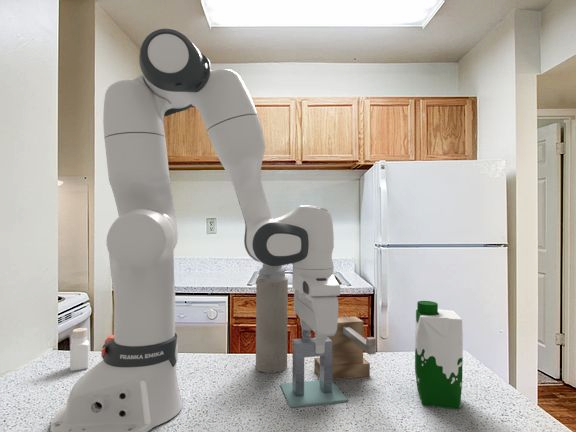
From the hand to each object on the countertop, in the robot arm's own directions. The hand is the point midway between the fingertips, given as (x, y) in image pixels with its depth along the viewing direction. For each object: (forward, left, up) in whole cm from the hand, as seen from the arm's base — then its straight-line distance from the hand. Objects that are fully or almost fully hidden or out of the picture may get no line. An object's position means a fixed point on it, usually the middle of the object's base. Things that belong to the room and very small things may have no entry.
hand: (312, 344), depth 79 cm
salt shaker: (-53, +25, -11) cm, 60 cm away
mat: (0, 0, -10) cm, 10 cm away
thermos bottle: (-6, +16, -11) cm, 20 cm away
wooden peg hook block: (+10, +2, -10) cm, 15 cm away
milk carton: (+25, -8, -11) cm, 28 cm away
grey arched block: (0, 0, -10) cm, 10 cm away
